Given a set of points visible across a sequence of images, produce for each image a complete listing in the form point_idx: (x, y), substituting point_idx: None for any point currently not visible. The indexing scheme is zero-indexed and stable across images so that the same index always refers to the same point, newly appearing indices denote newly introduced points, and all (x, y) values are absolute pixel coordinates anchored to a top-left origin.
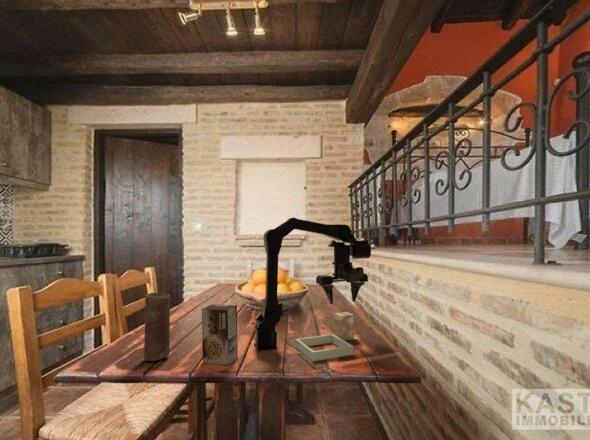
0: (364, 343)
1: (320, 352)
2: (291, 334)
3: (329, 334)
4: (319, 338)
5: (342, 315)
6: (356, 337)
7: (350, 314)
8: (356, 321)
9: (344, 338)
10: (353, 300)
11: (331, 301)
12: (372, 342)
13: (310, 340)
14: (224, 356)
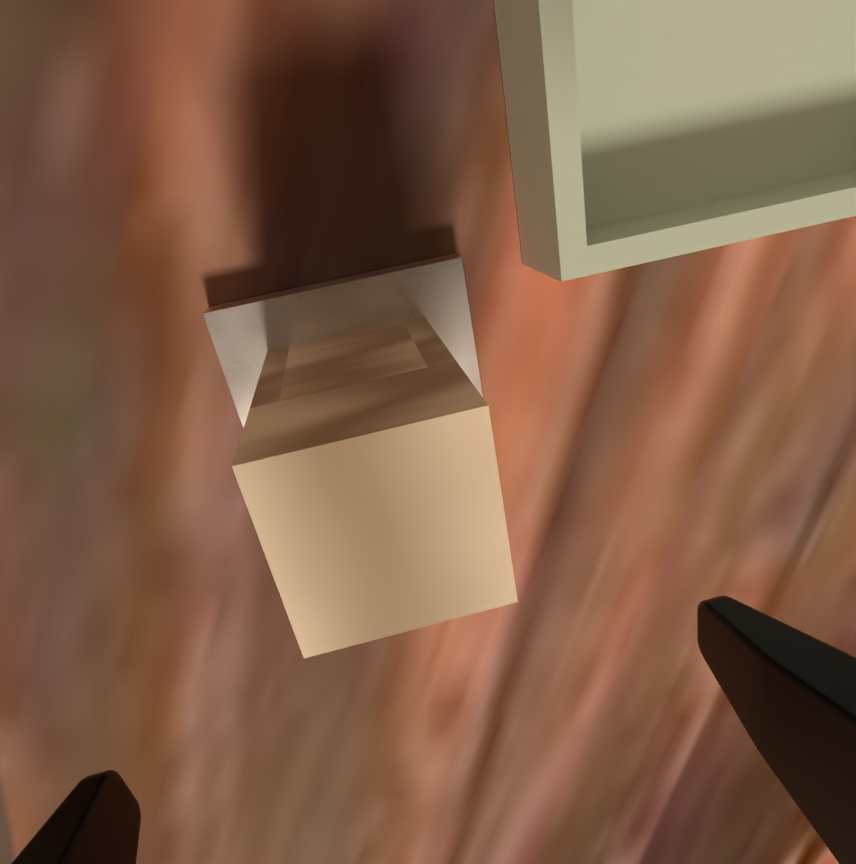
0: (171, 218)
1: None
2: (744, 583)
3: (602, 269)
4: (726, 210)
5: (440, 447)
6: (234, 347)
7: (279, 489)
8: None
9: (384, 324)
10: (116, 812)
11: (782, 623)
12: (61, 232)
13: (825, 186)
14: None
